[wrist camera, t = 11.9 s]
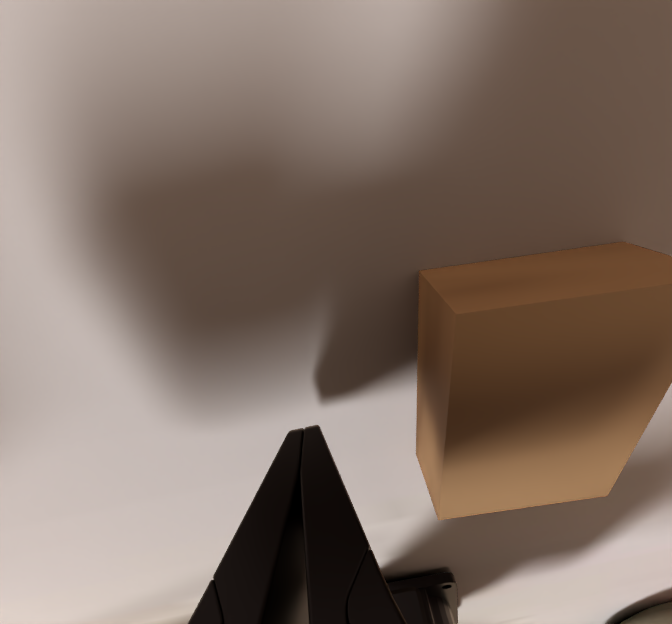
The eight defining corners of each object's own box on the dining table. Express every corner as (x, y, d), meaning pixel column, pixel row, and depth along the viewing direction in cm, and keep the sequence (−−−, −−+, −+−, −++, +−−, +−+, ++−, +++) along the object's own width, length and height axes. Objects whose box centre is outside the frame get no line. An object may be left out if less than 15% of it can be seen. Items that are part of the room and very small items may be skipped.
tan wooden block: (548, 426, 11) (607, 496, 9) (413, 445, 11) (438, 520, 9) (610, 237, 8) (732, 275, 5) (414, 265, 8) (456, 314, 5)
